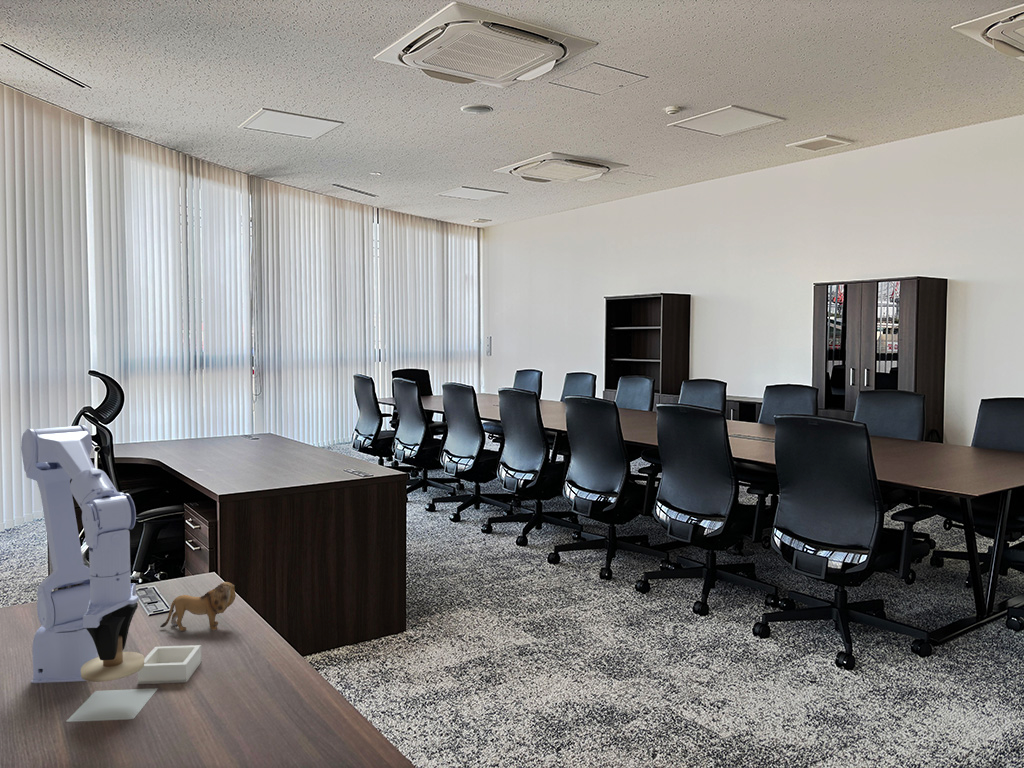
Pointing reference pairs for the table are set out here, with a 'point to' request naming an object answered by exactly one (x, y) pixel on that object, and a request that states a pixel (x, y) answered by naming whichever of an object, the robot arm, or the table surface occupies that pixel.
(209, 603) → the lion figurine
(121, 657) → the lid
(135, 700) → the mat
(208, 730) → the table surface
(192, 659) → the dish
